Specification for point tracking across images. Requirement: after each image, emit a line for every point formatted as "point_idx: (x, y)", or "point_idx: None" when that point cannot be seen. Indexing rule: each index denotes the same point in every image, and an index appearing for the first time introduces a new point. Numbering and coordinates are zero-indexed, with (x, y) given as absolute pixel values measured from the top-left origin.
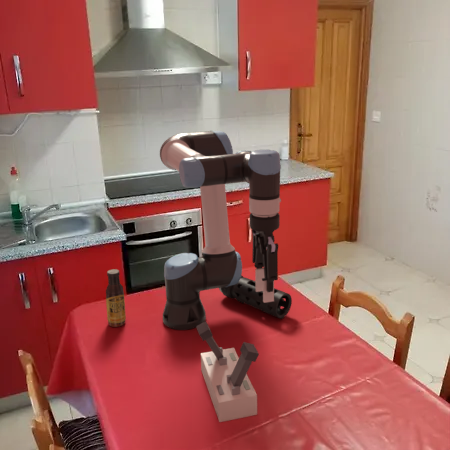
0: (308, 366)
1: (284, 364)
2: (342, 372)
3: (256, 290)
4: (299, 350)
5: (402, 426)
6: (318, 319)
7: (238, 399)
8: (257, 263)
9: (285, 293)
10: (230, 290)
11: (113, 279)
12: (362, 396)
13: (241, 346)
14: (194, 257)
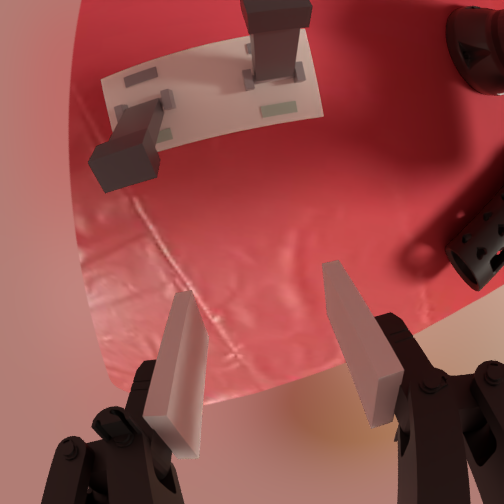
0: (283, 275)
1: (297, 230)
2: (257, 327)
3: (325, 269)
4: None
5: (133, 362)
6: (422, 314)
7: (110, 121)
8: (412, 431)
9: (480, 286)
10: None
11: None
12: None
13: (143, 134)
14: None
